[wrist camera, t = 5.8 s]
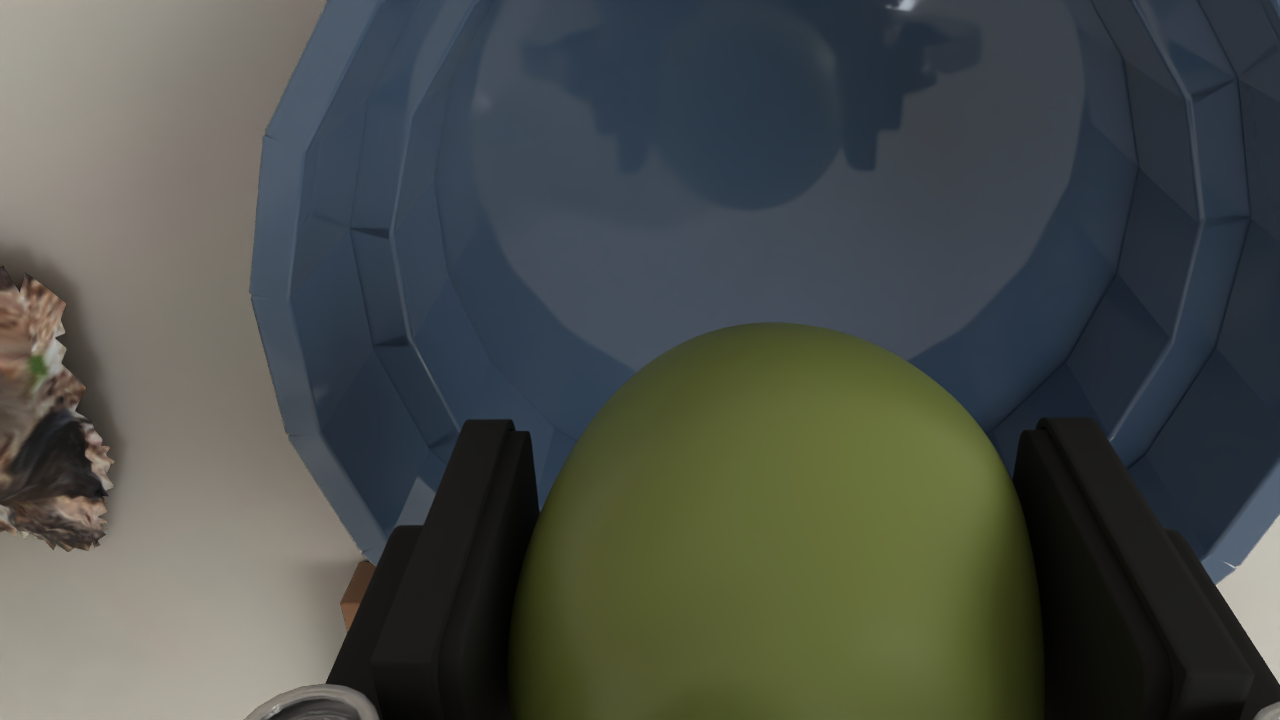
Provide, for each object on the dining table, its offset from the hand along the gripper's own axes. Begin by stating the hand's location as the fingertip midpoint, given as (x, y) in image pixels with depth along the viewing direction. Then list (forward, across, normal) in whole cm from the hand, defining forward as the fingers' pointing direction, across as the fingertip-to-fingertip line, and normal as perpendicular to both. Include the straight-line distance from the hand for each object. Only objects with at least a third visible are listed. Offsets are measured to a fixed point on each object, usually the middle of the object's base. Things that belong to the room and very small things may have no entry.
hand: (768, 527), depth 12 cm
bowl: (+9, 0, 0) cm, 9 cm away
